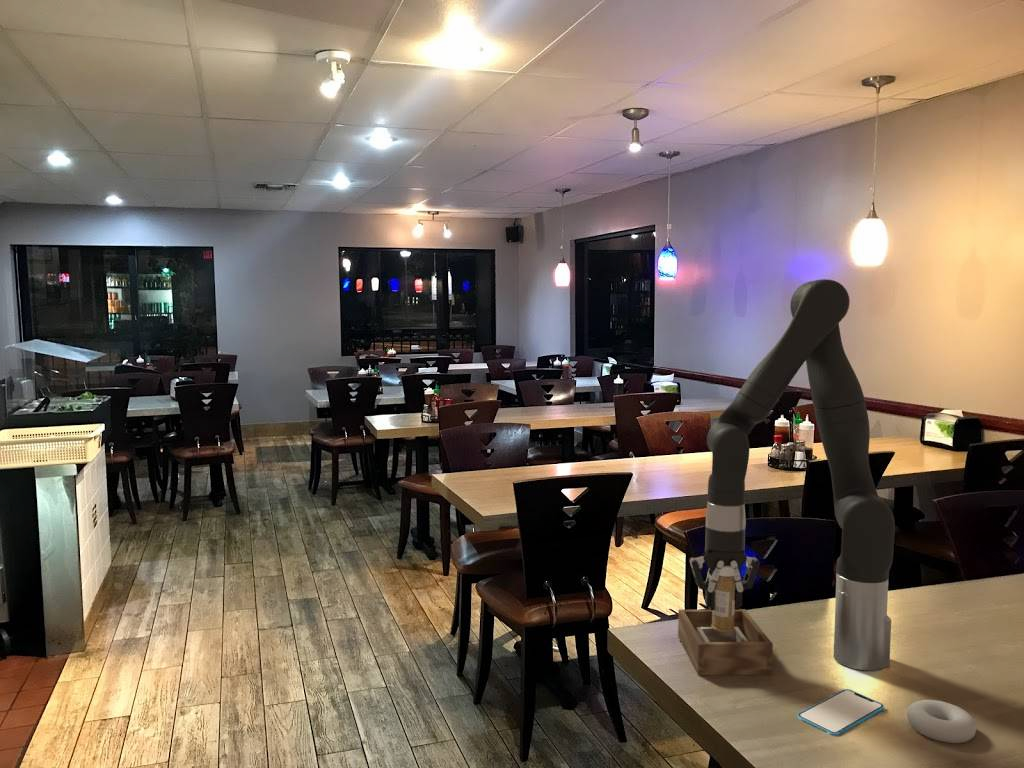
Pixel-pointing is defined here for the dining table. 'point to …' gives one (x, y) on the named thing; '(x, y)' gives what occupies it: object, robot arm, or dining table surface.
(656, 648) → the dining table surface
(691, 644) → the caddy
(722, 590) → the sprinkles bottle
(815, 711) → the smartphone
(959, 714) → the donut
